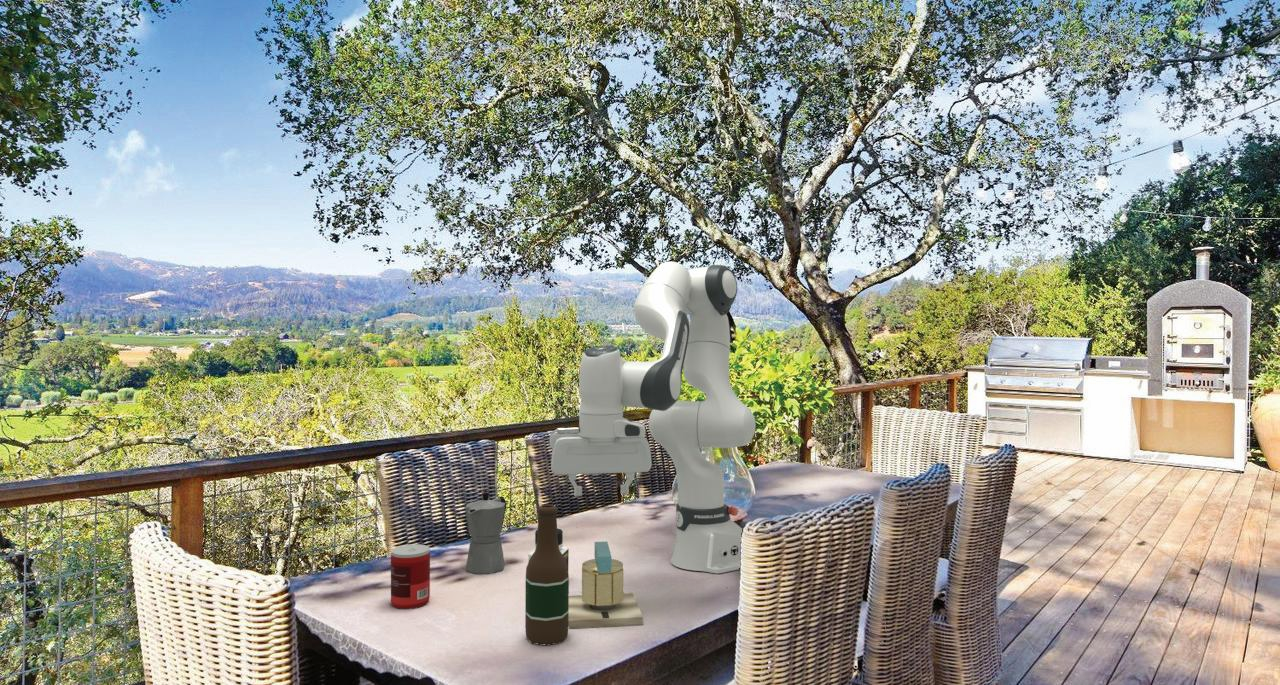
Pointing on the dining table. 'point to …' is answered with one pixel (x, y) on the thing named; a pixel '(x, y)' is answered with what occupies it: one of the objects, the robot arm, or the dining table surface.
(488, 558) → the coffeepot
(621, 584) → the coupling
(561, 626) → the beer bottle
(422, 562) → the canned food
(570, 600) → the square recessed plate
